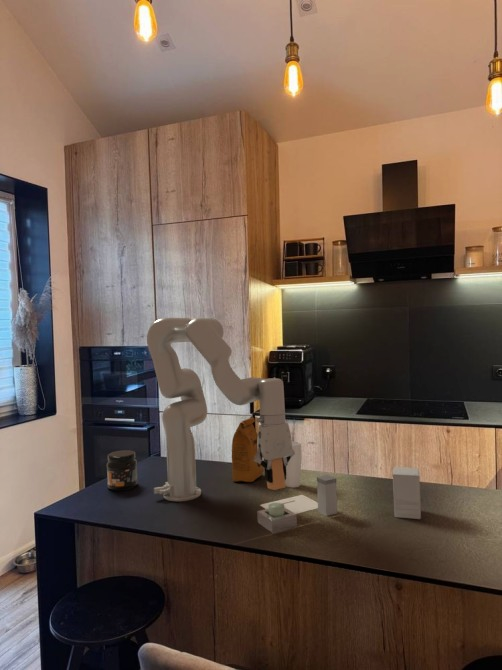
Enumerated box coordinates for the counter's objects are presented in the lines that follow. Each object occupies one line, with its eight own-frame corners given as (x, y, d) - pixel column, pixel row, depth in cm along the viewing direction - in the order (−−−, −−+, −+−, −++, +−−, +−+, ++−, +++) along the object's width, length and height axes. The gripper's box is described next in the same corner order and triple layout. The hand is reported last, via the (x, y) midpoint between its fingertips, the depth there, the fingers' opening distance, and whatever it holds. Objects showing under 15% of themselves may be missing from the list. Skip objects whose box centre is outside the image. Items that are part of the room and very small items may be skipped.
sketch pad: (280, 519, 138) (280, 517, 138) (259, 506, 148) (259, 504, 148) (324, 507, 145) (324, 506, 145) (302, 495, 156) (302, 494, 156)
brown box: (274, 490, 141) (269, 453, 142) (267, 488, 144) (263, 452, 145) (285, 487, 143) (281, 451, 144) (278, 485, 146) (274, 450, 147)
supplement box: (420, 510, 141) (419, 467, 141) (421, 520, 134) (419, 475, 134) (394, 507, 143) (393, 466, 143) (393, 517, 136) (392, 473, 136)
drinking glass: (302, 482, 169) (301, 440, 169) (302, 489, 162) (301, 445, 162) (283, 482, 170) (282, 440, 169) (282, 489, 163) (281, 445, 163)
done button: (274, 522, 131) (273, 509, 130) (266, 517, 134) (265, 504, 134) (287, 518, 133) (287, 506, 133) (279, 513, 136) (278, 501, 136)
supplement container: (101, 489, 169) (99, 456, 168) (120, 480, 178) (118, 448, 178) (125, 493, 165) (124, 458, 164) (143, 483, 174) (142, 450, 174)
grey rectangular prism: (326, 517, 138) (325, 480, 138) (317, 512, 142) (316, 477, 141) (337, 514, 140) (336, 478, 140) (328, 509, 144) (327, 474, 143)
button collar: (272, 533, 128) (271, 520, 128) (257, 523, 135) (257, 511, 135) (296, 526, 132) (296, 514, 132) (281, 517, 139) (281, 505, 139)
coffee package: (268, 475, 179) (266, 417, 179) (252, 485, 168) (250, 423, 168) (244, 472, 184) (242, 415, 183) (228, 482, 173) (226, 421, 172)
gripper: (254, 425, 136) (258, 489, 136) (302, 417, 144) (305, 477, 144) (242, 421, 143) (245, 482, 143) (289, 414, 151) (292, 472, 151)
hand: (276, 479), depth 143 cm, fingers closed on brown box, 4 cm apart
